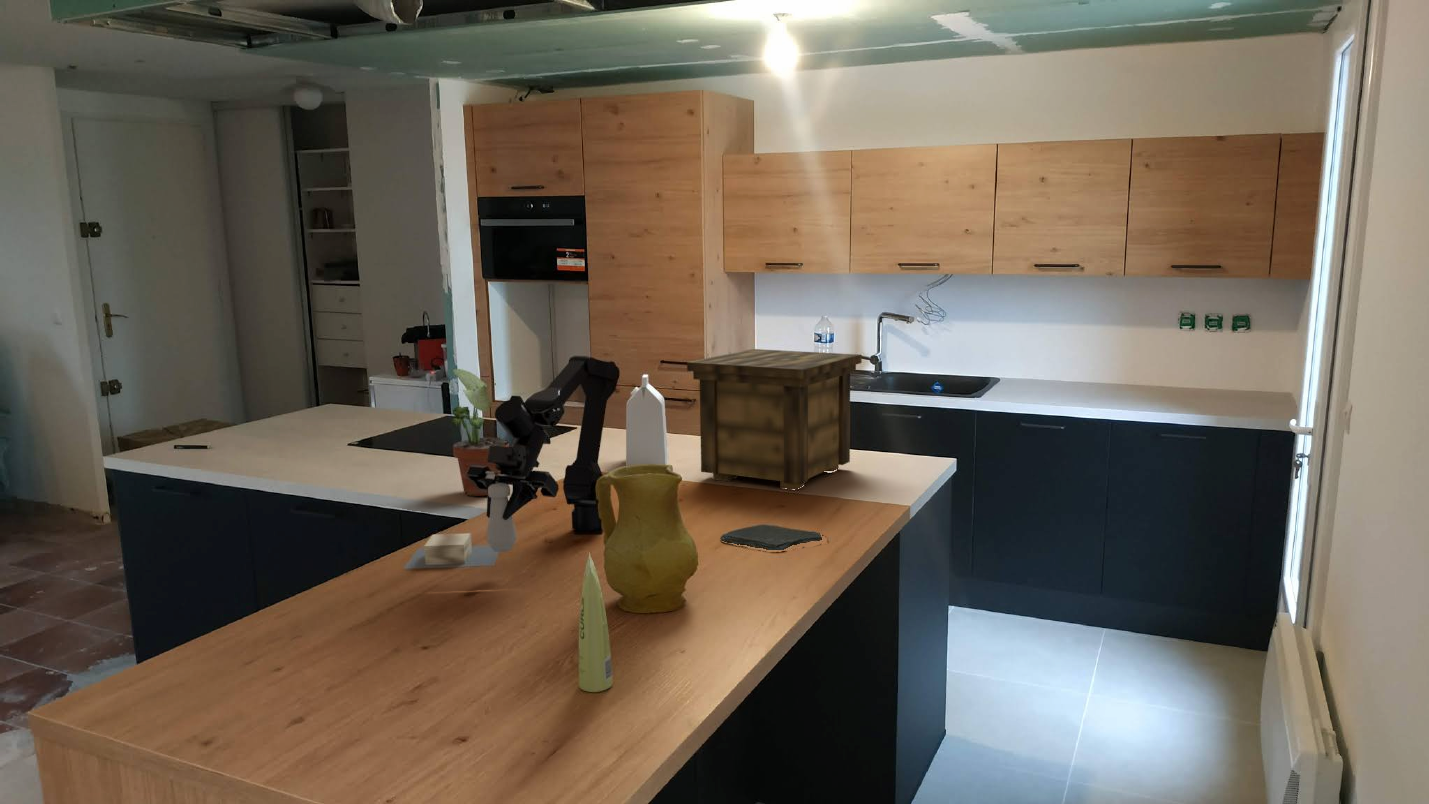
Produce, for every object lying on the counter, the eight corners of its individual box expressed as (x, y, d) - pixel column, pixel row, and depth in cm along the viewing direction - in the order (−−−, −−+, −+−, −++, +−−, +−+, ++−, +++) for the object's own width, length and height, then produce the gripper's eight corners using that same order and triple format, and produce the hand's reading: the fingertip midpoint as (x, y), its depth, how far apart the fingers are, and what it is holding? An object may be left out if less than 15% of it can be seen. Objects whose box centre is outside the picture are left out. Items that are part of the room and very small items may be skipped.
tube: (569, 686, 148) (563, 559, 145) (594, 674, 152) (589, 551, 149) (595, 696, 145) (590, 567, 142) (620, 684, 149) (616, 558, 145)
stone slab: (718, 555, 210) (718, 546, 209) (721, 531, 226) (721, 523, 226) (832, 555, 209) (832, 546, 208) (826, 531, 225) (826, 523, 225)
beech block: (471, 551, 213) (470, 533, 212) (464, 563, 205) (463, 544, 204) (433, 552, 212) (432, 534, 212) (425, 564, 204) (424, 546, 204)
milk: (665, 467, 290) (663, 378, 285) (626, 467, 290) (623, 379, 286) (668, 458, 302) (666, 372, 297) (630, 458, 302) (627, 373, 297)
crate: (689, 480, 273) (687, 362, 268) (754, 456, 302) (752, 349, 297) (803, 496, 254) (803, 369, 249) (860, 469, 283) (861, 354, 278)
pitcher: (626, 624, 171) (623, 480, 168) (588, 596, 187) (584, 464, 185) (715, 609, 178) (713, 471, 176) (671, 583, 195) (669, 456, 192)
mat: (503, 546, 217) (503, 544, 217) (493, 567, 203) (492, 565, 203) (419, 549, 216) (419, 547, 216) (403, 570, 202) (403, 568, 202)
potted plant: (441, 498, 259) (432, 364, 253) (476, 484, 273) (468, 357, 267) (491, 503, 253) (484, 366, 247) (524, 488, 267) (518, 358, 261)
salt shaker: (510, 554, 193) (506, 488, 191) (482, 552, 194) (478, 487, 192) (521, 544, 199) (518, 481, 197) (494, 543, 200) (491, 480, 198)
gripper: (468, 425, 200) (436, 493, 192) (547, 431, 193) (518, 501, 185) (493, 455, 208) (464, 521, 200) (571, 462, 201) (543, 530, 193)
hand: (496, 518), depth 194 cm, fingers closed on salt shaker, 3 cm apart
